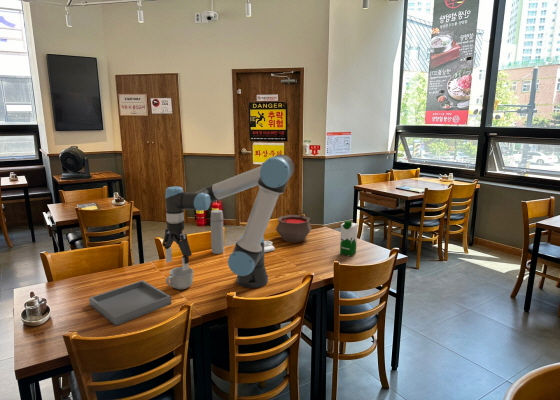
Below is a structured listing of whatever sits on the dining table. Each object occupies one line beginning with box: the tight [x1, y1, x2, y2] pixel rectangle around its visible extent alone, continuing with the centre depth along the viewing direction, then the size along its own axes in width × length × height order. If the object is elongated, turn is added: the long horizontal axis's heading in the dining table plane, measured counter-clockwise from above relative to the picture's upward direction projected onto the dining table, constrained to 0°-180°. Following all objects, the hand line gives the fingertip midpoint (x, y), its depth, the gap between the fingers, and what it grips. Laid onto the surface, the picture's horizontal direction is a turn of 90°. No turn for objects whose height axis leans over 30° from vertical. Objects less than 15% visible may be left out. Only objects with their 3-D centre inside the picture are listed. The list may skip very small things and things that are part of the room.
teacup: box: [165, 266, 194, 291], centre depth 175 cm, size 14×11×8 cm
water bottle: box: [210, 209, 225, 255], centre depth 220 cm, size 9×8×25 cm
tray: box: [88, 279, 172, 327], centre depth 159 cm, size 24×24×4 cm
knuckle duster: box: [264, 240, 276, 253], centre depth 227 cm, size 3×18×15 cm
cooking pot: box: [275, 211, 312, 243], centre depth 245 cm, size 24×24×16 cm
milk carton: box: [339, 220, 359, 257], centre depth 219 cm, size 9×9×20 cm
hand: (177, 265), depth 173 cm, fingers open, 13 cm apart
